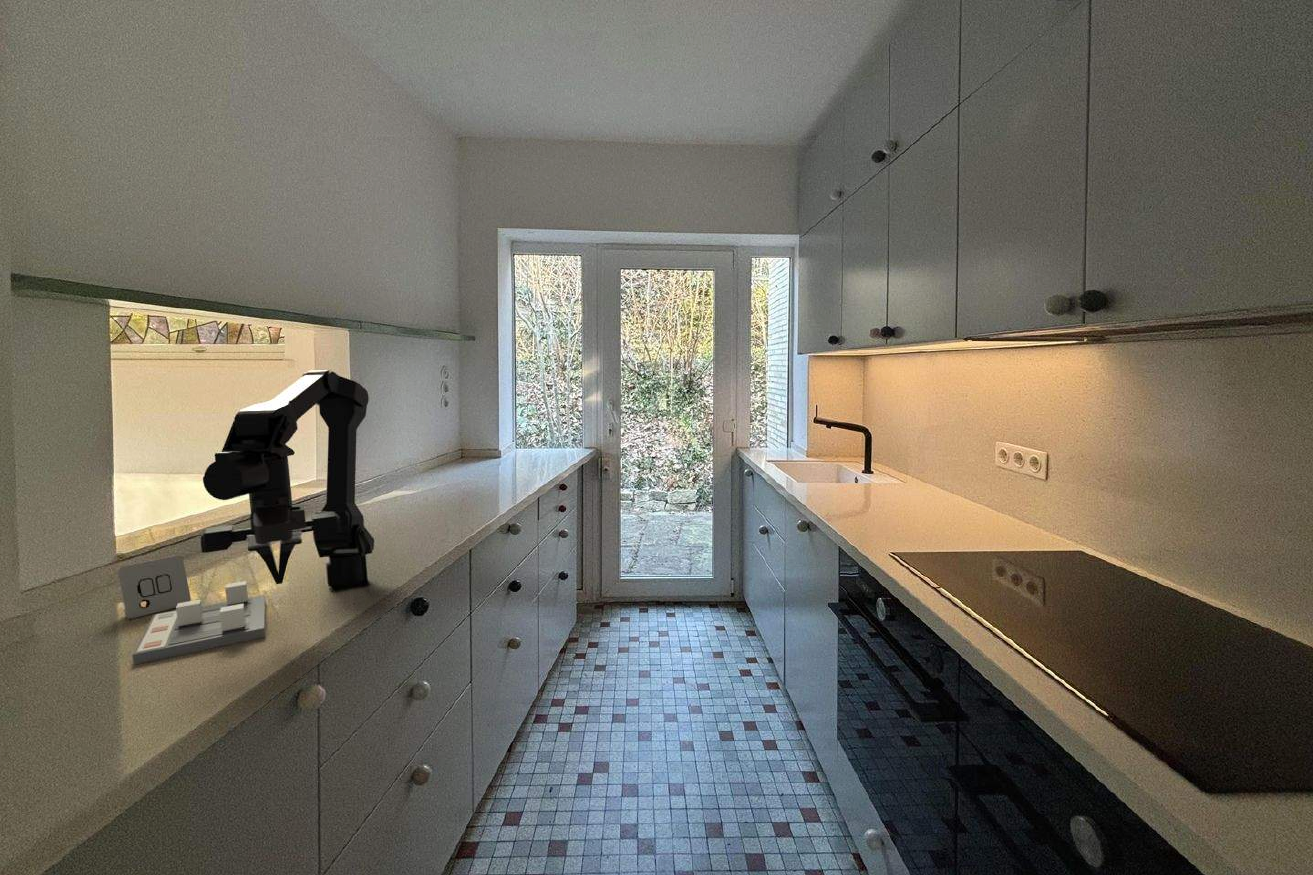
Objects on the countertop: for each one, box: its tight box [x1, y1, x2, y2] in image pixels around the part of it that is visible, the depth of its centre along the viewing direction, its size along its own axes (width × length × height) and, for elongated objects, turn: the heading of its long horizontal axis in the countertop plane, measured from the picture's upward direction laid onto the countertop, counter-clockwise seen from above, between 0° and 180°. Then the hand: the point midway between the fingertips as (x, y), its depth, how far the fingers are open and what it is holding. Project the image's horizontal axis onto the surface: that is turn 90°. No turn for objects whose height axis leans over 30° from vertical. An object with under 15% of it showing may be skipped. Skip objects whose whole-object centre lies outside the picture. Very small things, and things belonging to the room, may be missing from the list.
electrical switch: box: [116, 554, 192, 620], centre depth 113 cm, size 9×5×9 cm, turn 141°
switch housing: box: [132, 594, 267, 665], centre depth 102 cm, size 16×19×2 cm
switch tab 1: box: [175, 599, 203, 626], centre depth 101 cm, size 3×2×3 cm
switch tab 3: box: [220, 604, 245, 631], centre depth 98 cm, size 3×2×3 cm
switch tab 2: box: [224, 580, 249, 605], centre depth 110 cm, size 3×2×3 cm
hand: (279, 583), depth 101 cm, fingers closed
